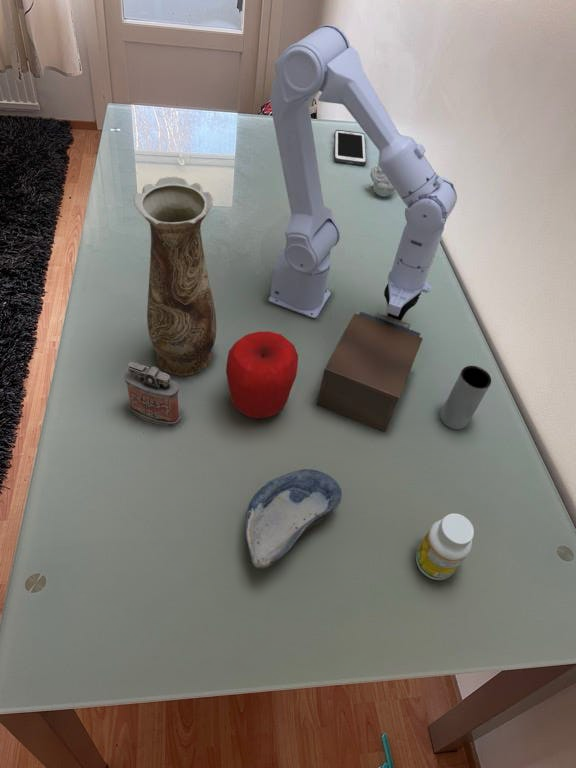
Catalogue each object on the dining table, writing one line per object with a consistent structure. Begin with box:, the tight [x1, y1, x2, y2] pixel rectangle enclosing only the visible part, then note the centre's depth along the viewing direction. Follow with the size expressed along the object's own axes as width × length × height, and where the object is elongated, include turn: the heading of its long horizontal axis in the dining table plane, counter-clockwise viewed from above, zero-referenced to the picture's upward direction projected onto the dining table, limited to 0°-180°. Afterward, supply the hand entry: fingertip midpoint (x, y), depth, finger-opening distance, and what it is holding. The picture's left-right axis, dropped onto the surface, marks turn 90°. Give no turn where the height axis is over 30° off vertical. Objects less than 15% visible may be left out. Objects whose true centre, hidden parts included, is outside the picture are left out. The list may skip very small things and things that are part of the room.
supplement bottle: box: [415, 513, 475, 581], centre depth 74 cm, size 5×5×10 cm
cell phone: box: [333, 129, 367, 166], centre depth 146 cm, size 8×15×1 cm, turn 177°
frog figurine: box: [369, 164, 396, 198], centre depth 132 cm, size 6×7×7 cm
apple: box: [225, 331, 299, 419], centre depth 87 cm, size 10×10×14 cm
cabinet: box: [316, 312, 423, 433], centre depth 93 cm, size 14×12×9 cm
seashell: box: [245, 468, 343, 569], centre depth 77 cm, size 15×12×5 cm
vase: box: [133, 176, 217, 377], centre depth 85 cm, size 10×11×30 cm
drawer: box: [358, 311, 421, 337], centre depth 96 cm, size 17×10×7 cm, turn 157°
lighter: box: [124, 361, 181, 427], centre depth 85 cm, size 8×3×10 cm, turn 71°
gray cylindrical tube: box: [439, 365, 492, 430], centre depth 90 cm, size 4×4×10 cm
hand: (393, 319), depth 102 cm, fingers closed
